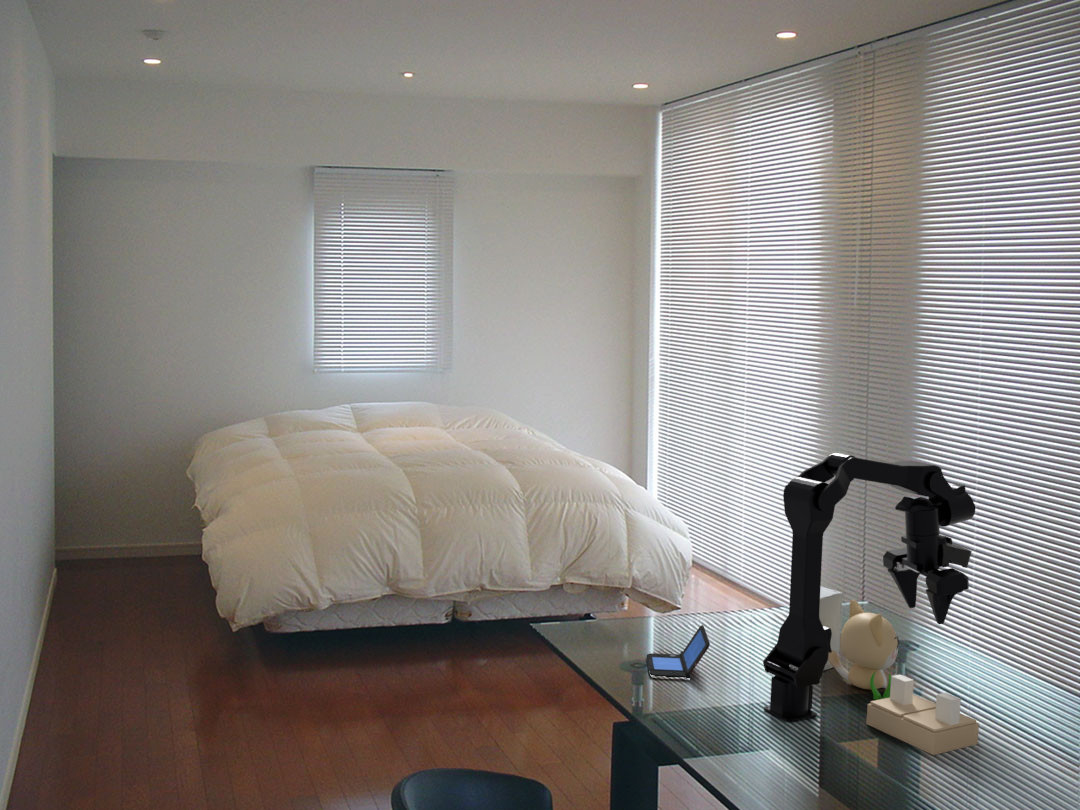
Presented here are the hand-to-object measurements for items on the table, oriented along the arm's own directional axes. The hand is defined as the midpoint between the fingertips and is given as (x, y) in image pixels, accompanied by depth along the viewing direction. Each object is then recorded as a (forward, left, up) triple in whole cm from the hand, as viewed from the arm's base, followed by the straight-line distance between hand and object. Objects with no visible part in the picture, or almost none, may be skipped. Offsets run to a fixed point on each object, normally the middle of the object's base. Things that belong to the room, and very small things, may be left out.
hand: (926, 615), depth 202 cm
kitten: (-8, +5, -14) cm, 17 cm away
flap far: (-17, -12, -10) cm, 23 cm away
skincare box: (-9, +18, -14) cm, 24 cm away
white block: (-17, -19, -10) cm, 27 cm away
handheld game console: (-34, +28, -14) cm, 46 cm away
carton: (-17, -15, -14) cm, 27 cm away
